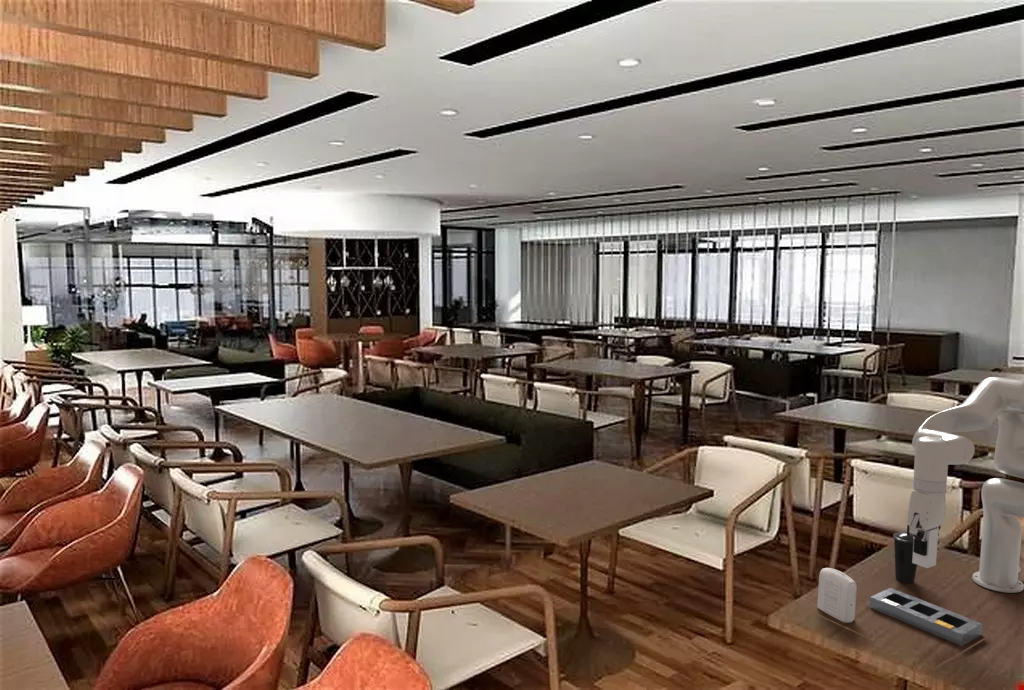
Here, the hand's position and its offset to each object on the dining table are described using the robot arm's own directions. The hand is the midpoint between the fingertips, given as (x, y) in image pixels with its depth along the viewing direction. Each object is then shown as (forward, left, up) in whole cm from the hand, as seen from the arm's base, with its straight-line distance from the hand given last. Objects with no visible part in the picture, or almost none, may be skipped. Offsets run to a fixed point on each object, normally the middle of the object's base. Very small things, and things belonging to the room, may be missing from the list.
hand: (925, 551), depth 192 cm
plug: (0, 0, -3) cm, 3 cm away
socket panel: (0, +1, -19) cm, 19 cm away
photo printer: (+16, -14, -19) cm, 29 cm away
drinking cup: (-20, -15, -19) cm, 32 cm away
